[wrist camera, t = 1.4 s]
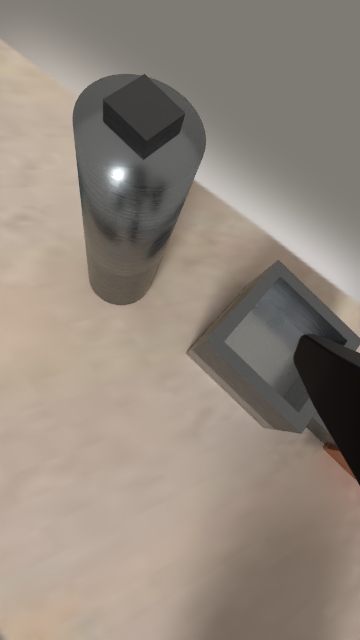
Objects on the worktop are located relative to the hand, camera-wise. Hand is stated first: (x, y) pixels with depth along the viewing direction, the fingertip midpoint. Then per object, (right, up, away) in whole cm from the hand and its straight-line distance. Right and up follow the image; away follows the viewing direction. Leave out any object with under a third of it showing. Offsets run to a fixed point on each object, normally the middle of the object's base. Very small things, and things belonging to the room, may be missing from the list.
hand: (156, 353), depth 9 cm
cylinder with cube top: (-4, +4, +14) cm, 15 cm away
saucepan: (+10, -5, +15) cm, 19 cm away
